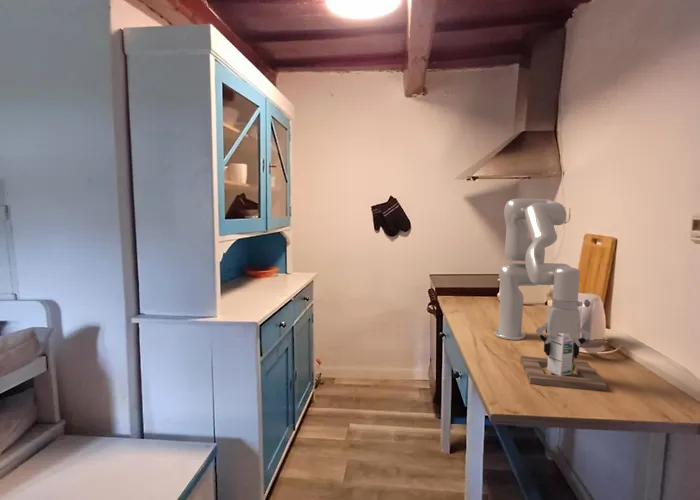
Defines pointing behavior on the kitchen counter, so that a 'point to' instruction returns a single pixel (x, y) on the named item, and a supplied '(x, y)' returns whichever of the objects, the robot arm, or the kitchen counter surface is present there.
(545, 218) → the robot arm
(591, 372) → the hole board
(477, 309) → the kitchen counter surface
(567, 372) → the syrup box
